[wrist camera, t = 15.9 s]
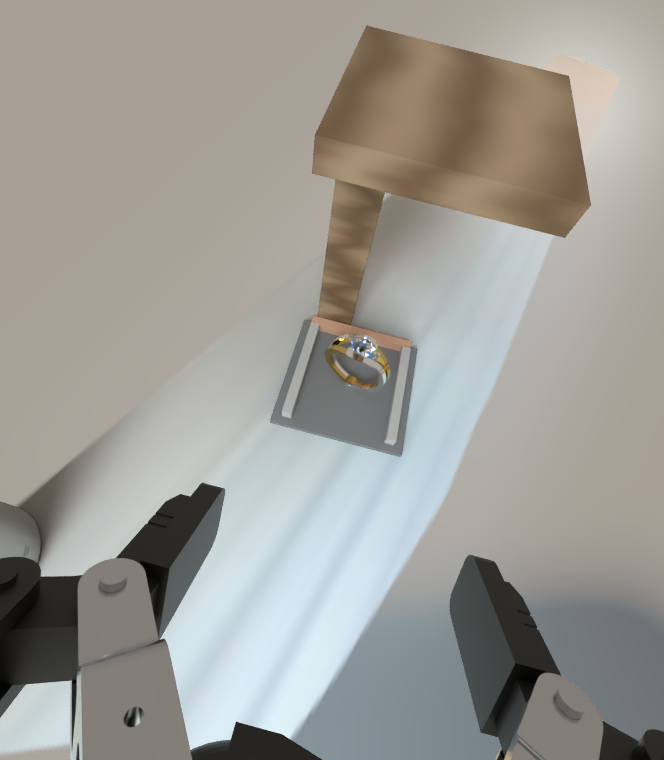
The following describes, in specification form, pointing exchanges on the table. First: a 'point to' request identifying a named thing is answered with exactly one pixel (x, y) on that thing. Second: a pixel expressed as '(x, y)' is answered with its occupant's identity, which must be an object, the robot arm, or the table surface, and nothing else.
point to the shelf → (442, 147)
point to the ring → (360, 354)
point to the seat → (346, 390)
